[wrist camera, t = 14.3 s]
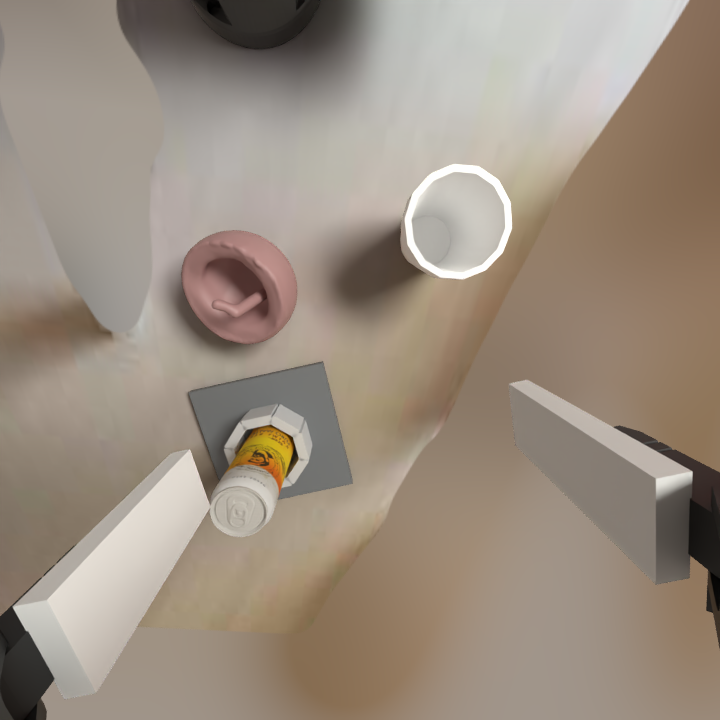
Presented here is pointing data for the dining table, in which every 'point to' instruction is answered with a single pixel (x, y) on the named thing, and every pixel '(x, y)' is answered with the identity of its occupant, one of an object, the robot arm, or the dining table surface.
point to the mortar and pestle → (239, 286)
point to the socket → (278, 424)
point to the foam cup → (456, 222)
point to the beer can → (252, 483)
